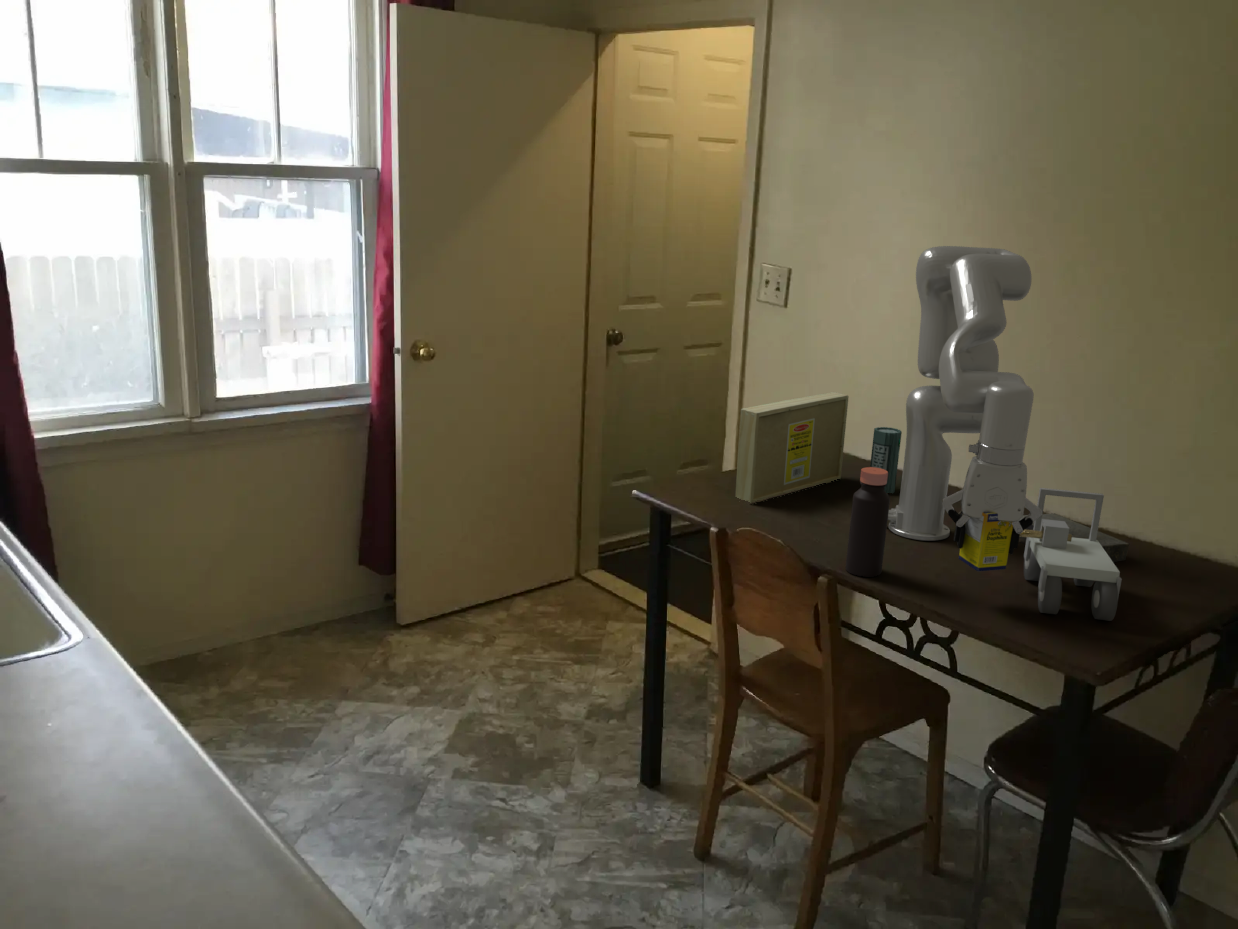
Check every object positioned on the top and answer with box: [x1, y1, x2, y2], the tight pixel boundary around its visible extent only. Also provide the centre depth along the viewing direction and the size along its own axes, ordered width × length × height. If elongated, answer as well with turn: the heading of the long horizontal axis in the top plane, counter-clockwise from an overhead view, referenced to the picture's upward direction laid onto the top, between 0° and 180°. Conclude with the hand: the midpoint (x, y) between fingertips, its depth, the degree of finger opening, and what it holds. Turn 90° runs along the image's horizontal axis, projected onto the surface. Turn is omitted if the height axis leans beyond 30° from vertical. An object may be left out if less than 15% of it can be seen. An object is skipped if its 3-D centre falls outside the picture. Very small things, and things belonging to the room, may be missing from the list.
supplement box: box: [958, 504, 1013, 573], centre depth 184 cm, size 6×6×11 cm
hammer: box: [1020, 529, 1072, 542], centre depth 192 cm, size 12×3×6 cm, turn 78°
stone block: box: [1018, 513, 1130, 563], centre depth 217 cm, size 14×20×5 cm
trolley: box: [1023, 487, 1123, 622], centre depth 188 cm, size 13×23×18 cm, turn 168°
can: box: [869, 426, 902, 494], centre depth 250 cm, size 6×6×15 cm
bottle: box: [845, 466, 891, 578], centre depth 196 cm, size 7×7×20 cm
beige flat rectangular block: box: [735, 391, 849, 503], centre depth 246 cm, size 35×5×22 cm, turn 133°
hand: (984, 548), depth 184 cm, fingers closed on supplement box, 8 cm apart
